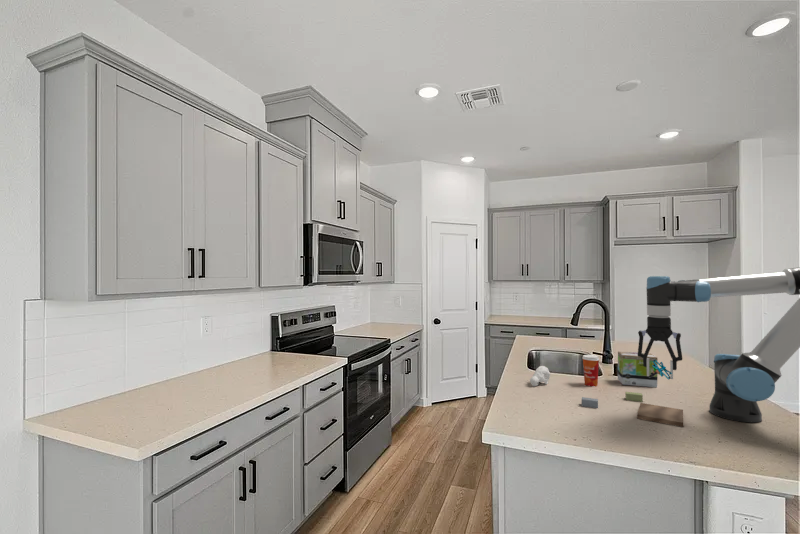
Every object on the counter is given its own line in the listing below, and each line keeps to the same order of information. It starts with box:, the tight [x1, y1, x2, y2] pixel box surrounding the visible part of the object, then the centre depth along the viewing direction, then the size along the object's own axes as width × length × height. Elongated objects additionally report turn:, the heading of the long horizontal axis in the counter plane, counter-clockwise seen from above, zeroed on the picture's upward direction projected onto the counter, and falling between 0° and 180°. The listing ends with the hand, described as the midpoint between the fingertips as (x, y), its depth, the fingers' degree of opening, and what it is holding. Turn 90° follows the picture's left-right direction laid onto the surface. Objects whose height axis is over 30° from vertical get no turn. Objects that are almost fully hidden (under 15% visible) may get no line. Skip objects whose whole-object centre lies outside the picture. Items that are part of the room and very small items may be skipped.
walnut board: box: [636, 402, 684, 428], centre depth 148 cm, size 14×16×2 cm
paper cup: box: [581, 354, 600, 387], centre depth 189 cm, size 8×8×14 cm
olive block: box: [624, 391, 644, 403], centre depth 167 cm, size 6×3×3 cm, turn 66°
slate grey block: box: [581, 396, 599, 409], centre depth 159 cm, size 6×3×3 cm, turn 62°
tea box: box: [617, 350, 659, 389], centre depth 191 cm, size 15×10×15 cm, turn 73°
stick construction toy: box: [649, 360, 672, 380], centre depth 149 cm, size 12×7×8 cm
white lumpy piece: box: [529, 365, 551, 387], centre depth 190 cm, size 6×8×12 cm
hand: (659, 376), depth 148 cm, fingers closed on stick construction toy, 7 cm apart
